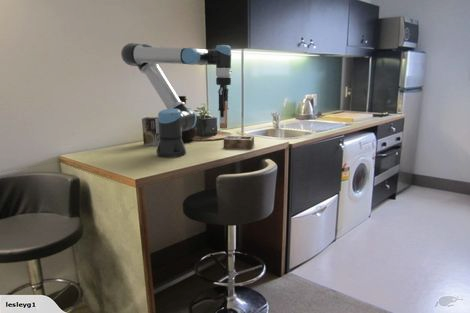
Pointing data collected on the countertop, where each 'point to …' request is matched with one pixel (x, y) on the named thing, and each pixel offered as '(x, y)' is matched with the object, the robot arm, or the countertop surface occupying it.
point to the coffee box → (150, 131)
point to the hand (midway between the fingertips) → (223, 122)
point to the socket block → (239, 142)
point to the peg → (224, 125)
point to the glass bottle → (191, 132)
